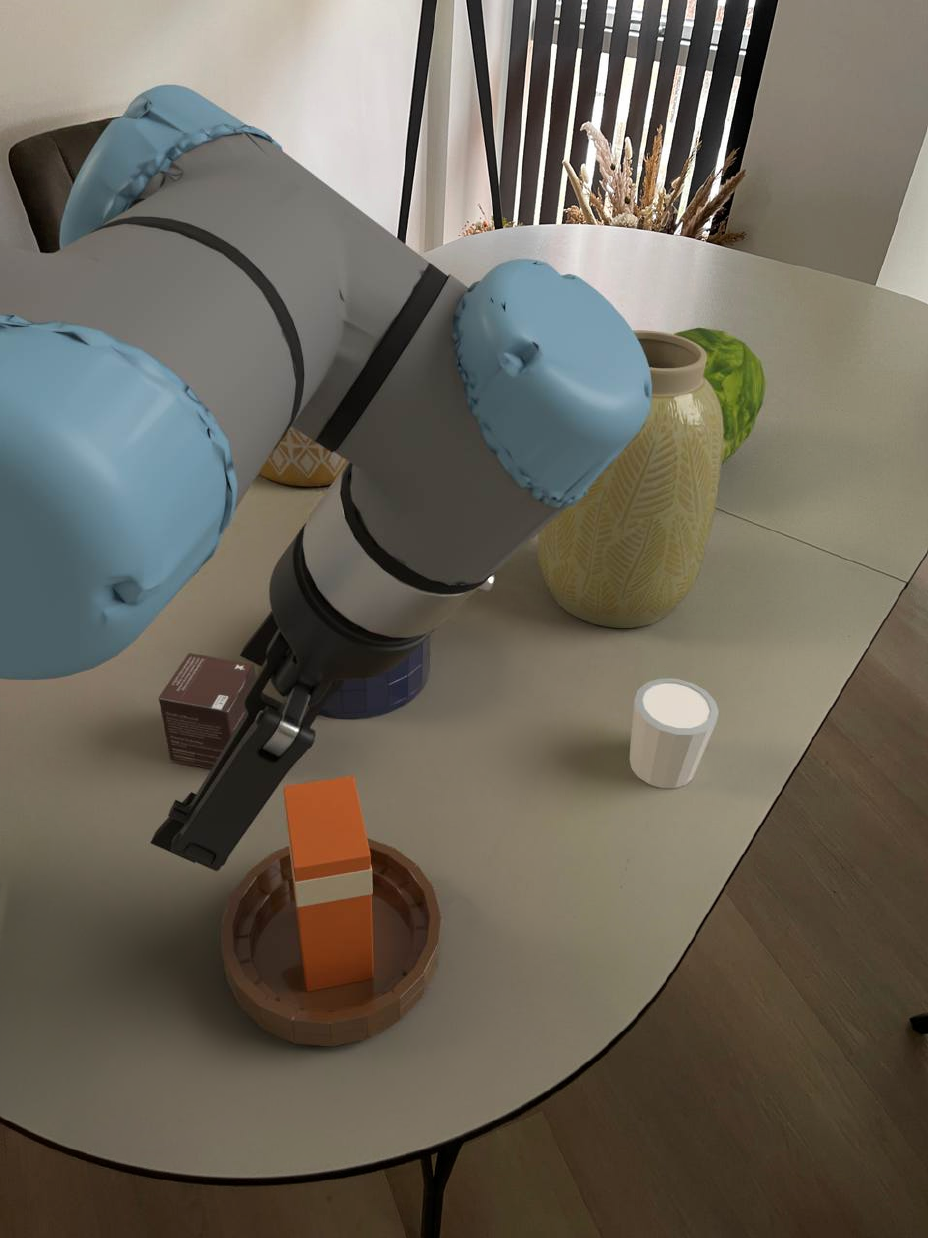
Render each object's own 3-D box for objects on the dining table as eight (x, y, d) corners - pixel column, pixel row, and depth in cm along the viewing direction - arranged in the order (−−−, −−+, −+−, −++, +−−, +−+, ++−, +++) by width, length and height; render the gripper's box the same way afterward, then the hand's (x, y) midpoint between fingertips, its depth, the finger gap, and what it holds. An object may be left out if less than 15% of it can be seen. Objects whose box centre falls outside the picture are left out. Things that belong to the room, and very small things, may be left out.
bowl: (233, 1074, 59) (227, 1045, 57) (222, 884, 70) (216, 853, 68) (460, 1026, 62) (463, 996, 60) (415, 851, 73) (416, 821, 71)
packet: (305, 993, 63) (292, 869, 55) (295, 910, 68) (282, 785, 60) (374, 979, 64) (371, 855, 56) (359, 898, 69) (354, 774, 61)
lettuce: (640, 545, 121) (565, 447, 115) (688, 442, 136) (623, 351, 130) (755, 502, 110) (679, 391, 104) (794, 395, 124) (729, 292, 118)
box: (199, 714, 84) (188, 650, 80) (263, 726, 83) (256, 662, 79) (168, 763, 79) (155, 697, 75) (236, 776, 79) (227, 711, 74)
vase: (661, 543, 110) (707, 313, 94) (717, 634, 97) (783, 385, 80) (516, 551, 107) (538, 316, 91) (553, 647, 94) (587, 392, 78)
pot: (283, 729, 83) (278, 678, 79) (269, 628, 94) (264, 578, 91) (445, 707, 86) (448, 657, 83) (413, 611, 98) (414, 563, 94)
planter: (256, 507, 112) (243, 375, 102) (220, 437, 126) (205, 314, 116) (408, 480, 119) (409, 354, 109) (358, 416, 133) (355, 299, 123)
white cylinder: (703, 800, 79) (720, 740, 74) (620, 787, 80) (633, 726, 75) (701, 742, 84) (717, 683, 80) (624, 730, 85) (636, 671, 81)
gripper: (372, 856, 35) (196, 971, 51) (499, 441, 51) (336, 623, 67) (188, 768, 33) (62, 916, 49) (380, 363, 49) (240, 571, 64)
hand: (220, 747), depth 58 cm, fingers open, 13 cm apart
